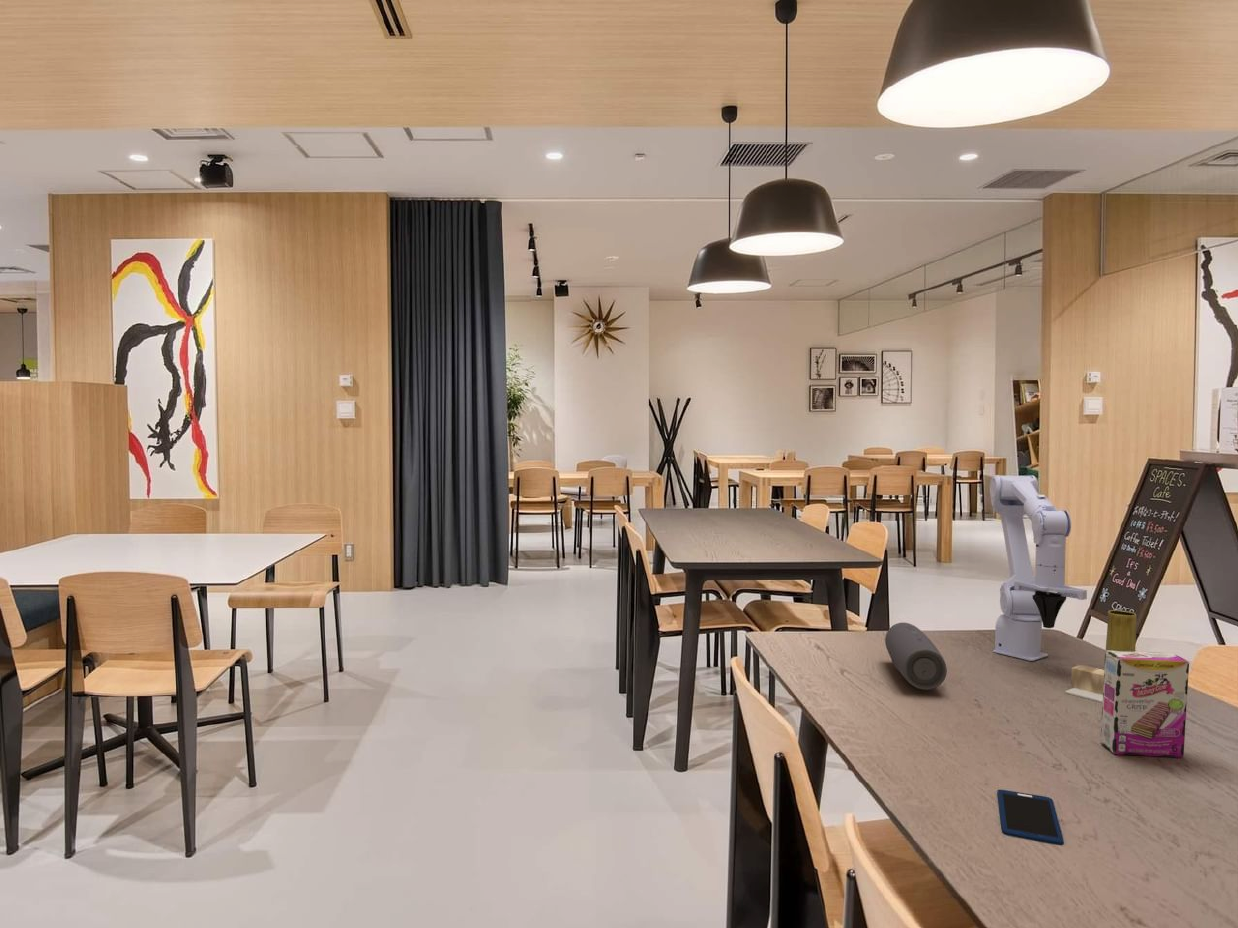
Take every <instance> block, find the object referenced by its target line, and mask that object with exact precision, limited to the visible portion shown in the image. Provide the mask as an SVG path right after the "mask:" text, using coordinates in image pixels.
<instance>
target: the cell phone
mask: <svg viewBox="0 0 1238 928" xmlns="http://www.w3.org/2000/svg"><path fill="white" fill-rule="evenodd" d="M996 795H997V804H998V810H999V811H998V812H999V819H1000V829H1001V832H1002V834H1003V835H1006V836H1008V837H1014V838H1019V839H1025V840H1030V841H1036V842H1041V843H1045V844H1046V843H1047V844H1052V845H1059V846H1062V845H1064V836H1063V832H1062V828H1061V825H1060V821H1059V818H1058V813H1057V810H1056V807H1055V803H1054V800H1053V798H1051V797H1049V796H1044V795H1037V794H1033V793H1026V792H1018V791H1015V790H1014V791H1012V790H1006V789H997V792H996Z"/></svg>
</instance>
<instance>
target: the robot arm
mask: <svg viewBox="0 0 1238 928" xmlns="http://www.w3.org/2000/svg"><path fill="white" fill-rule="evenodd" d="M1039 487H1040V486H1039V481H1038V478H1037V477H1036V476H1035V475H1032V474H1031V475H999V474H994V475H993V476H992V478H991V479H990V485H989V495H990V501H991V507H992V509H993V511H994V513H995V512H996V513H997V514H999V517H1000V521H1001V525H1002V531H1003V538H1004V543H1005V549H1006V550H1005V552H1006V557H1007V563H1008V568H1009V569H1008V570H1009V576H1010V577H1009V578H1008V579H1007V580H1006V581H1004V582H1002V584H1001V587H1000V590H999V593H1000V597H999V605H1000V610H1001V612H1002V613H1003V614H1000V615H999V616H998V618H997V619H996V623H995V629H994V630H995V631H994V633H995V634H994V635H995V636H994V649H993V650H992V652H993V653H997V654H1001V655H1005V656H1009V657H1013V658H1017V659H1021V660H1025V661H1029V662H1034V661H1036V660H1040V659H1042V658H1046V657H1048V656H1049V653H1046V652H1043V651H1042V631H1043V630H1042V627H1043V628H1045V629H1052V628H1055V625H1056V620H1057V617H1058V615H1059V612H1060V610H1061V608H1062V607H1063V605H1064V604H1065V602H1066V600H1067V598H1071V599H1077V600H1080V601H1084V600H1087V599H1088V598H1087V597H1088V596H1087V595H1088V590H1087V589H1083V588H1077V587H1072V586H1068V585H1065V584H1066V583H1065V582H1066V578H1065V576H1066V543H1067V542H1066V540H1067V537H1069V536H1070V534H1071V532H1072V519H1071V515H1070V513H1069V512H1068V510H1066V509H1061V510H1060V509H1059V510H1058V509H1057V508H1056V506H1055V505H1054V504H1053V502H1051V501H1050V499H1049V498H1048V497H1047V496H1046V495H1045V494H1039V489H1040V488H1039ZM1025 515H1026V517H1028V519H1029V520H1030V521H1031V530H1032V534H1033V543H1034V544H1035V560H1034V561H1035V565H1034V567H1035V568H1034V572H1035V573H1034V574H1033V568H1032V563H1031V557H1030V552H1029V545H1028V541H1027V533H1026V528H1025V522H1024V516H1025Z"/></svg>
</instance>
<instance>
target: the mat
mask: <svg viewBox="0 0 1238 928" xmlns="http://www.w3.org/2000/svg"><path fill="white" fill-rule="evenodd" d="M1064 693H1065V694H1068V695H1071V696H1076V697H1079V698H1084V699H1087V700H1090V701H1093V702H1099V703H1102V704H1103V695H1101V694H1097V693H1093V692H1089V691H1085V690H1081V689H1077V688H1073V687H1071V688H1069V689H1067V690H1065V691H1064Z"/></svg>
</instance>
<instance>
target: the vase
mask: <svg viewBox="0 0 1238 928" xmlns="http://www.w3.org/2000/svg"><path fill="white" fill-rule="evenodd" d="M1106 628H1107V630H1106V638H1105V639H1106V641H1105V651H1131V652H1137V651H1136V644H1137V643H1136V641H1137V640H1136V636H1137V635H1136V634H1137V633H1136V632H1137V614H1136V612H1133V611H1127V610H1119V609H1112V610H1111V609H1110V610H1108V611H1107V627H1106ZM1103 665H1104V668H1105V664H1103ZM1104 668H1103V669H1104Z"/></svg>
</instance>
